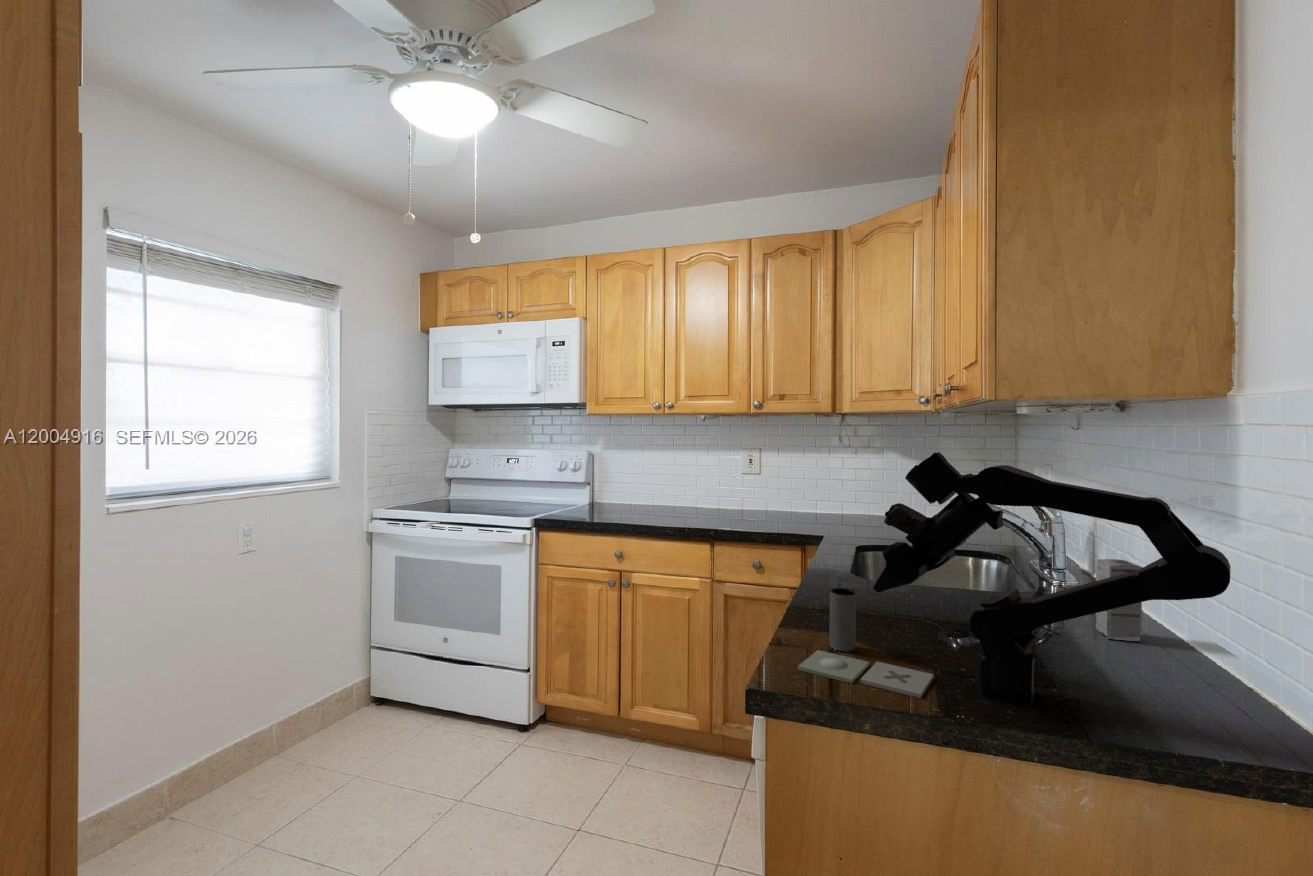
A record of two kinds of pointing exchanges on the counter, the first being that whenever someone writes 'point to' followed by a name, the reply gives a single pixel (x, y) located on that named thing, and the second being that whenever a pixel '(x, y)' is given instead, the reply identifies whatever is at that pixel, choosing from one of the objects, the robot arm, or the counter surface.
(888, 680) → the pad
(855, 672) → the pad
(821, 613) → the counter surface
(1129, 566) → the syrup box
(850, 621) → the grey cylinder
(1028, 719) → the counter surface
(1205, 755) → the counter surface
